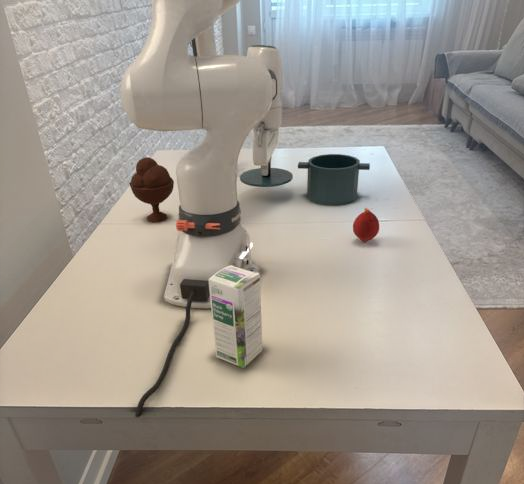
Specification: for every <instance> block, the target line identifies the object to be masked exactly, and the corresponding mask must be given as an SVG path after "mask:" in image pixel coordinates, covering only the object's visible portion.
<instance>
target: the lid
mask: <svg viewBox="0 0 524 484" xmlns="http://www.w3.org/2000/svg"><path fill="white" fill-rule="evenodd" d="M268 167H269V173H268V175H267V176H263V175H262V173H261V167H257V168H253V169H249V170H246V171H243V172H242V173H240V176H239V180H240V182H241V183H242V184H244V185H247V186H250V187H256V188H273V187H274V188H275V187H279V186H280V187H281V186H283V185H286V184H288V183H290V182H291V181H292V180H293V178H294V175H293V173H292V172H291V171H289V170H287V169H283V168H278V167H272V165H271V166H270V162H268Z"/></svg>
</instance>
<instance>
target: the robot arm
mask: <svg viewBox="0 0 524 484" xmlns="http://www.w3.org/2000/svg"><path fill="white" fill-rule="evenodd" d="M150 1H151V2H150V3H151V19H150V26H149V31H148V35H147V38H146V40H145V43H144V45H143V47H142V49H141V51H140V52H139V54H138V55H137V56H136V58H135V59H134V60H133V61H132V63H130V64H129V65H128V66H127V68H126V69H125V70H124V73H123V74H122V77H121V81H120V86H119V96H120V103H121V105H122V108H123V110H124V112H125V114H126V116H127V118H128V119H129V121H131V123H132V124H133V125H135V126H136V128H138V129H140V130H141V129H142V130H148V131H155V132H156V131H157V132H165V133H167V132H177V131H179V132H180V131H192V130H204V131H205V136H204V137H203V140H202V141H201V142H200V143H199V144H198V145H196V146H195V147H193V148H192V149H190V150H189V151H187V152H186V153H185V154H184V155H183V156H181V158H179V160H178V163H177V164H176V169H175V170H176V171H175V175H176V182H177V183H176V184H177V190H178V197H179V205H178V214H177V215H178V216H177V217H178V218H177V220H176V224H175V227H176V230H177V238H176V244H175V251H174V257H173V262H172V263H171V267H170V271H169V275H168V279H167V283H166V286H165V291H164V295H163V298H164V302H166V303H169V304H171V305H173V306H177V307H184V308H185V319H184V322H183V325H182V328H181V330H180V331H179V334H177V336H176V338H175V339H174V341H173V342H172V344H171V345H170V348H169V350H168V353H167V356H166V359H165V361H164V364H163V367H162V369H161V372H160V374H159V376H158V378H157V380H156V382H155V383H154V384H153V385H152V386H151V387H150V388H149V389H148V390H146V392H144V394H143V395H142V396H141V397H140V399H139V401H138V404H137V406H136V409H135V416H134V417H135V418H140V417H141V416H142V412H143V408H144V405H145V404H146V402H147V401H148V399H149V398H150V397H151V396H152V395H153V394H154V393H156V391H158V389H159V388H160V386H162V383H163V381H164V379H165V377H166V375H167V373H168V370H169V368H170V365H171V361H172V359H173V356H174V353H175V351H176V349H177V346H178V345H179V343H180V341H181V340H182V339H183V337H184V336H185V334H186V332H187V330H188V327H189V324H190V320H191V309H192V308H193V309H211V301H210V291H209V279H210V278H211V277H212V276H213V275H214V274H216V273H217V272H219V271H220V270H222V269H224V268H225V267H228V266H230V265H232V266H235V267H238V268H241V269H245V270H248V271H251V272H254V273H260V267H259V265H258V264H256V263H254V262H253V261H252V251H251V250H252V248H253V247H254V245H253V242H250V233H249V232H248V231H247V230H246V228H244V227H243V225H242V223H241V221H242V218H241V217H242V210H241V206H240V201H239V200H238V191H237V188H238V187H237V185H238V184H237V182H238V180H237V177H238V176H237V175H238V173H237V172H238V163H239V157H240V153H241V150H242V147H243V145H244V143H245V141H246V139H247V137H248V136H249V134H250V133H251V132H252V133H253V136H252V163H253V166H256V167H257V166H259V167H260V168H261V173H262V175H263V176H267V175H268V173H269V167H268V162H270V166H271V167H272V157H273V153H274V152H275V149H276V147H277V146H278V142H279V141H278V140H279V130H280V127H281V126H283V102H282V97H281V93H282V88H283V73H282V71H283V70H282V61H281V55H280V50H279V49H278V48H277V47H276V46H273V45H265V44H253V45H251V46H249V47H248V48H247V53H246V55H240V54H218V55H217V47H216V37H215V30H214V29H215V26H214V25H215V23H216V22H217V21H218V19H219V17H220V16H221V15H223V14H225V13H227V12H229V11H231V9H233V8H235V6H236V5H238V4H239V3H240V2H241V0H150ZM190 44H191V48H192V55H191V54H190V53H189V45H190Z"/></svg>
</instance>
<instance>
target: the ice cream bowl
mask: <svg viewBox="0 0 524 484" xmlns="http://www.w3.org/2000/svg"><path fill="white" fill-rule="evenodd" d="M128 184H129V186H130V189H131V192H132V194H133V196H134V197H135V198H136V199H137V200H138V201H140V202H142V203H144V204H147V205H150V206H151V209H152V212H151V213H150V214H148V216H146V221H147V222H148V223H152V224H158V223H162V222H166V221H167V220H168V219H169V217H168V215H167V214H166V213H164V212H162V211H160V204H161V203H163V202H164V201H166V200H167V199H168V198H169V197H170V196H171V195H172V194H173V191H174V188H175V187H174V186H175V185H174V184H175V181H174V179H173V178H172V177H171V174H170V172H169V171H168V169H167V168H166V167H164V166H163V165H160V164H158V163H157V161H156V160H155V159H153V158H152V157H147V156H146V157H142V158H141V159H139V160H138V161H137V162H136V166H135V173H134V174H133V175H132V176H131V179H130V182H128Z"/></svg>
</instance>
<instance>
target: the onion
mask: <svg viewBox="0 0 524 484" xmlns="http://www.w3.org/2000/svg"><path fill="white" fill-rule="evenodd" d="M352 231H353V234H354V236H356V237H357V239H359V240H360V241H361V242H362V243H367V242H369V241H372V240H373V239H374V238H375V237H376V236H377V235H378V234H379V231H380V222H379V218H378V217H377V216H376V215H375V214H374V213H373V212H372V211H371V210H370V208H368V207H365V208H364V211H362V212H361V213H359V214H358V215H357V217H356V218H355V219H354V221H353V224H352Z"/></svg>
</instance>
